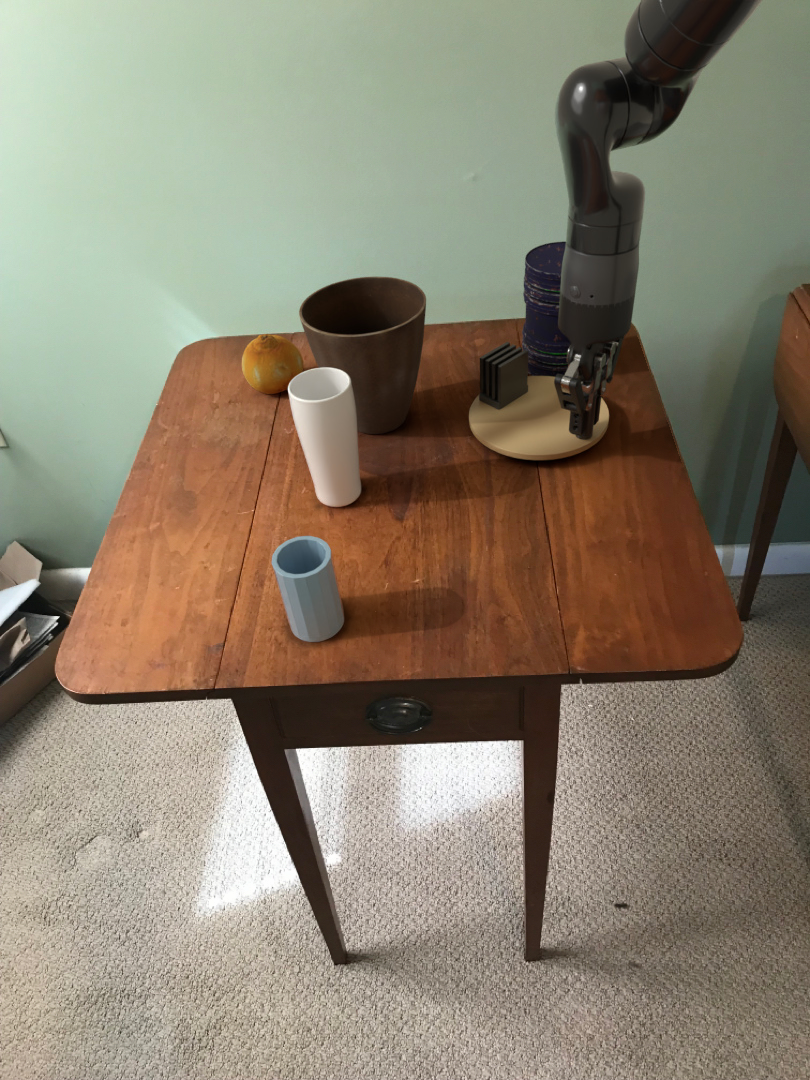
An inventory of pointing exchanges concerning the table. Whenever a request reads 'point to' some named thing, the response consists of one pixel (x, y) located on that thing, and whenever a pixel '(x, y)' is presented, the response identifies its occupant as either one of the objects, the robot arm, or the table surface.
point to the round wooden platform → (526, 411)
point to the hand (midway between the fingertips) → (583, 427)
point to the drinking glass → (328, 432)
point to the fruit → (271, 363)
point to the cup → (309, 588)
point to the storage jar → (544, 311)
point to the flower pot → (370, 343)
